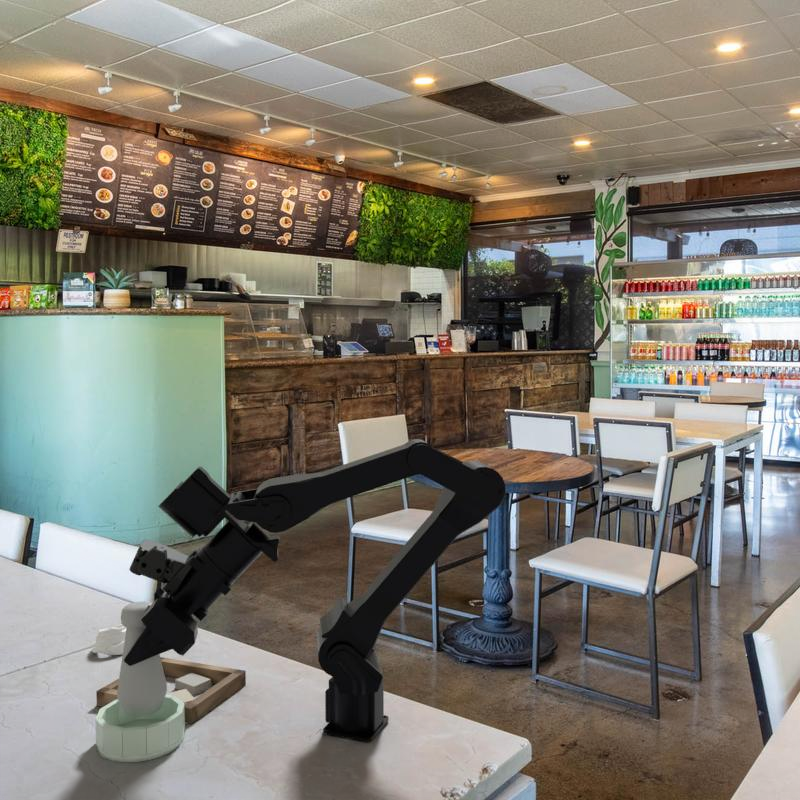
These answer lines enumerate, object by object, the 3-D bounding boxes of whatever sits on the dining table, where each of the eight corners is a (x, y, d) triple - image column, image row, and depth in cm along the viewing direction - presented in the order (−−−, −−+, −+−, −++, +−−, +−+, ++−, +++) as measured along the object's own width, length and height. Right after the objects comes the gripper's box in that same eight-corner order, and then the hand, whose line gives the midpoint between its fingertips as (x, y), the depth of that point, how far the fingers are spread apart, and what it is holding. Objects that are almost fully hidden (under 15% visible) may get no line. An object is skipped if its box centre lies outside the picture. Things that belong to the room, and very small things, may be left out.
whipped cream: (108, 668, 123) (107, 638, 122) (79, 655, 126) (79, 626, 125) (149, 648, 130) (149, 620, 129) (121, 636, 133) (121, 609, 132)
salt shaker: (167, 717, 95) (163, 609, 94) (116, 723, 94) (112, 614, 93) (167, 696, 101) (164, 595, 100) (119, 702, 99) (116, 599, 98)
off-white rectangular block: (211, 690, 113) (210, 679, 113) (194, 697, 111) (194, 686, 111) (192, 683, 115) (191, 672, 115) (175, 690, 113) (175, 679, 113)
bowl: (200, 730, 100) (199, 700, 100) (148, 768, 91) (148, 736, 91) (134, 717, 104) (134, 688, 104) (78, 753, 95) (78, 722, 94)
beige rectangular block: (195, 711, 107) (195, 699, 106) (173, 716, 105) (173, 705, 105) (186, 700, 110) (186, 688, 110) (164, 705, 108) (164, 693, 108)
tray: (245, 684, 114) (245, 670, 114) (191, 724, 102) (191, 708, 102) (158, 669, 119) (157, 656, 119) (96, 705, 107) (96, 691, 107)
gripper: (180, 503, 106) (96, 590, 105) (159, 535, 87) (56, 641, 86) (242, 559, 107) (160, 645, 106) (235, 602, 89) (135, 707, 88)
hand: (129, 657), depth 97 cm, fingers closed on salt shaker, 3 cm apart
